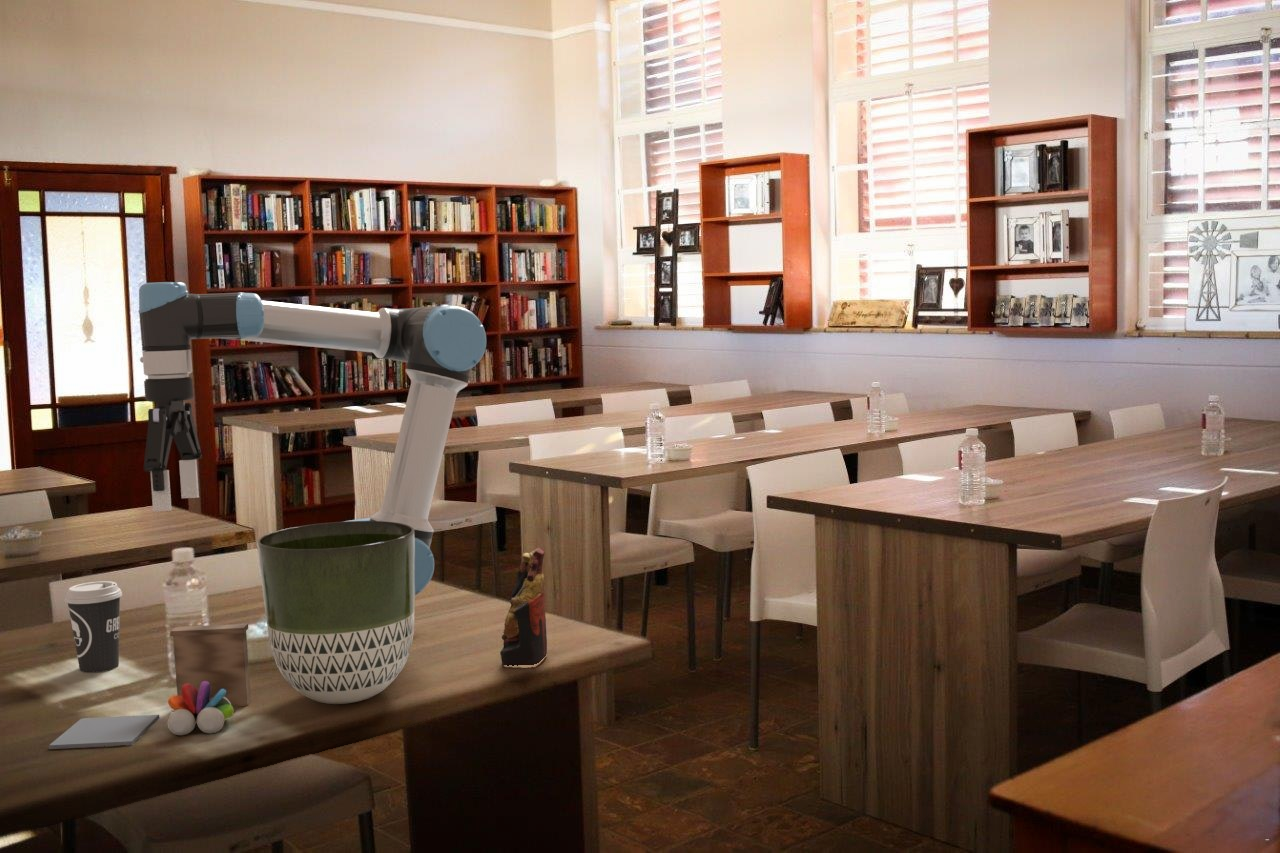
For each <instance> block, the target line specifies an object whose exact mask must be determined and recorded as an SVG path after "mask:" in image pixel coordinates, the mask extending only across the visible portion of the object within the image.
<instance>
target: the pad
mask: <svg viewBox="0 0 1280 853" xmlns="http://www.w3.org/2000/svg"><path fill="white" fill-rule="evenodd" d="M159 720H160V714H147V715H143V714H142V715H124V716H123V715H121V716H104V717H100V716H99V717H85V718H84V717H82V718H80V719H79V720H77V722H75V723H74V724H73V725H72V726H71V727H70V728H68V729H67V730H65V731H64V732H63V733H62V734H61V735H60V736H58V737H57V738H56V739H55V740H54V741H52V742H51V743H50V744H49V745H48V748H49V750H59V749H80V748H81V749H82V748H99V747H101V748H103V747H104V746H105V747H117V746H116V745H126V746H133V745H134V744H135V743H136V742H137V741H138V740H139V739H140V738H141V737H142V736H143V735H144V734H145V733H146V732H147V731H148V730H149V729H150V728H151V727H152V726H153V725H155V723H156V722H157V721H159ZM134 742H135V743H134ZM132 744H133V745H132ZM114 745H115V746H114Z"/></svg>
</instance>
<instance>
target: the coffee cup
mask: <svg viewBox="0 0 1280 853" xmlns="http://www.w3.org/2000/svg"><path fill="white" fill-rule="evenodd" d="M122 596H123V592H122V589H121V588H120V587H119V586H118V584H117V582H115V581H109V580H106V581H105V580H102V581H101V580H100V581H98V580H97V581H91V582H83V583H78V584H76V585H75V584H74V585H72V586H70V587H69V588H68V591H67V594H65V598H64V602H65V603H66V604H67V606H68V612H69V617H70V623H71V628H72V633H73V638H74V646H75V650H76V656H77V662H78V668H79V671H80V672H81V673H85V674H86V673H88V674H89V673H90V674H92V673H93V674H94V673H95V674H96V673H102V672H107V671H111V670H114V669H116V668H117V667H119V665H120V661H119V660H120V606H121V604H120V602H121V597H122Z"/></svg>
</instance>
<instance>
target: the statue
mask: <svg viewBox="0 0 1280 853" xmlns="http://www.w3.org/2000/svg"><path fill="white" fill-rule="evenodd" d="M544 557H545V551H544V550H543V549H542V548H540V547H539V548H538V547H537V548H535V550H532V551H531V552H523V554H522V557H521V558H522V559H521V562H520V566H519V569H518V573H517V579H516V582H515V586H514V589H512V590H511V593H510V600H509V601H510V607H509V609H508V612H507V614H506V617H505V620H504V626H503V627H504V629H503V632H502V633H503V634H502V635H501V639H502V641H503V645H502V646H503V647H502V648H501V650H500V652H499V653H500V659H501V666H503V665H507V666H509V665H512V666H514V665H517V666H518V665H534V664H537V663H539V662H540V661H541V660H542V659H543V658H544V657H545V656H546V654H547V655H548V639H547V638H548V637H547V620H546V594H545V593H546V591H545V585H546V580H545V575H544V574H543V565H544V564H543V562H544Z"/></svg>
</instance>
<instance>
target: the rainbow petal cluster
mask: <svg viewBox="0 0 1280 853" xmlns="http://www.w3.org/2000/svg"><path fill="white" fill-rule="evenodd" d="M181 692H182V696H178V695H176V694H175V695H172V696H170V697H169V698H168V700H167V702H168V705H169V707H170V708H171V709H172V710H173V711H172V712H171V713H170V714H169V715H168V717H167V726H168V729H169V731H170V732H171V733H172V734H174V735H177V736H185V735H188V734H190V733H191V732H193V730H194V728H195V727H196V725H197V727H198V729H200V731H202V732H203V733H205V734H215V733H217V732H219V731H221V730H222V728H223V726H224V724H225V720H227V719H229V718H230V717H232V716H233V714H234V706H231V703H230V701H229V700H228V699H227V698H225V697H224V696H225V694H226V690H225V689H221V690H220V691H219V692H218V693H217V694H216V695H215V696H214V697H213V698H211V699H209V697H210V684H209V682H207V681H204V682H202V683H201V685H200V688H199V691H197V690H196V688H195V687H194V686H193V685H191V684H184V685H183V686H182V691H181Z"/></svg>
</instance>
